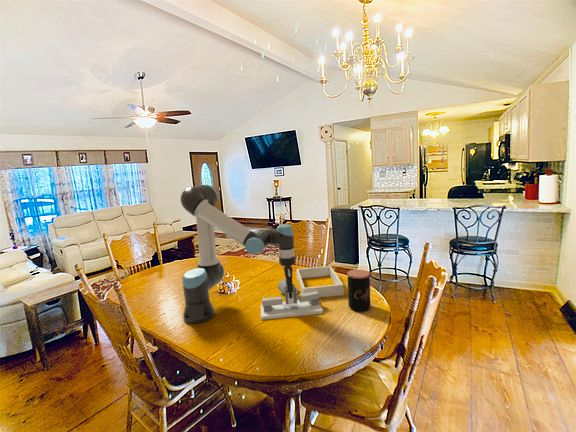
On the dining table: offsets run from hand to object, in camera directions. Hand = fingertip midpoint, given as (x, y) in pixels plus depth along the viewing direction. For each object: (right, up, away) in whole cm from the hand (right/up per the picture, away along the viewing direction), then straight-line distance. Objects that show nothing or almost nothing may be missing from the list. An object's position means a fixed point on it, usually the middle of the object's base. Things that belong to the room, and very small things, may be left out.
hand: (290, 300), depth 158 cm
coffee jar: (+34, -3, -1) cm, 34 cm away
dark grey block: (0, 0, 0) cm, 0 cm away
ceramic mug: (0, -2, +22) cm, 22 cm away
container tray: (+17, +1, +29) cm, 33 cm away
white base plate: (0, -5, +1) cm, 5 cm away
